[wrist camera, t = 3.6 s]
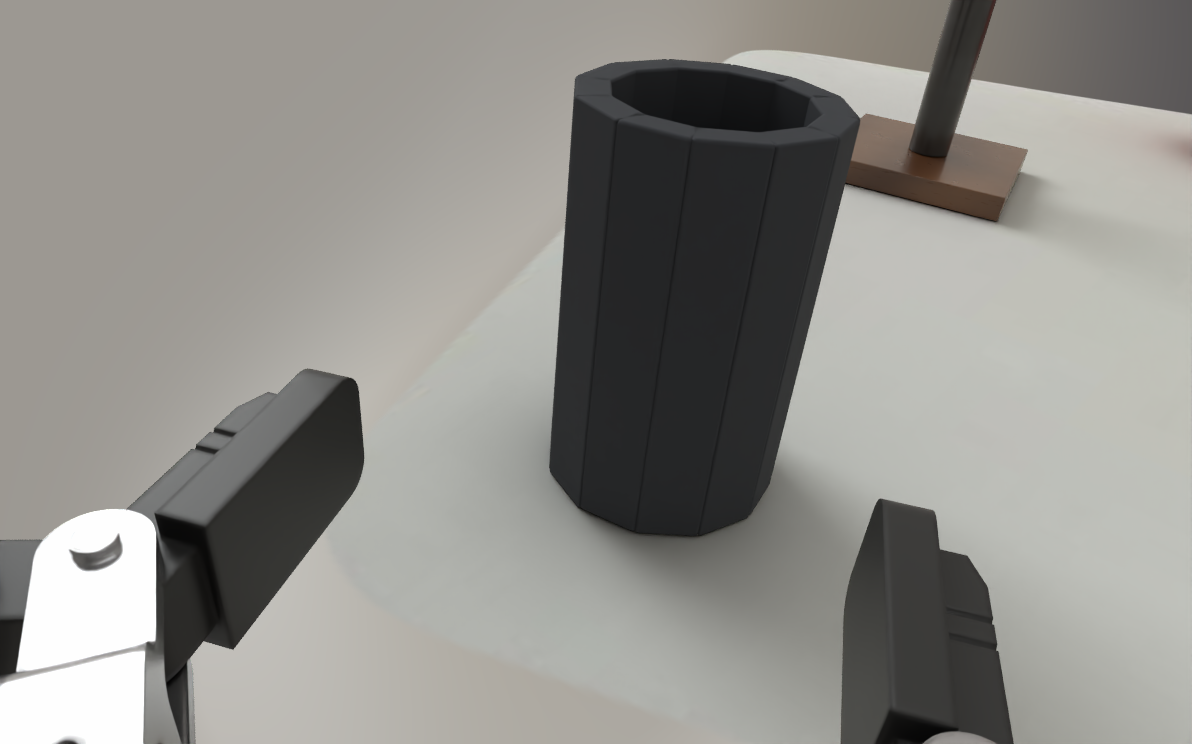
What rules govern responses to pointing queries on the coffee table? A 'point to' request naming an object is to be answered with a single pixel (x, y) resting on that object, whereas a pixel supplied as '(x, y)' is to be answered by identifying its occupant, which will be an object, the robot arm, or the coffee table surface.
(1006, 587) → the coffee table surface
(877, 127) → the stand
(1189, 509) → the coffee table surface
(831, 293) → the coffee table surface
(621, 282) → the sleeve
